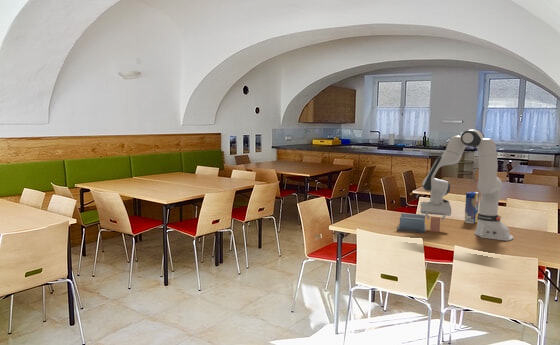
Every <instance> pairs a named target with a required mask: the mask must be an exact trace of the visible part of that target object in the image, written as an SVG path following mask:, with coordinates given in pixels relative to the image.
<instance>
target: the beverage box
mask: <svg viewBox="0 0 560 345" xmlns="http://www.w3.org/2000/svg"><path fill="white" fill-rule="evenodd" d="M479 202H480V191H468V192H466V193H465V206H464V207H465V208H464V221H463V222H464V223H466V224H467V223H468V224H476V223H478V220H477V218H478V213H479Z"/></svg>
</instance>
